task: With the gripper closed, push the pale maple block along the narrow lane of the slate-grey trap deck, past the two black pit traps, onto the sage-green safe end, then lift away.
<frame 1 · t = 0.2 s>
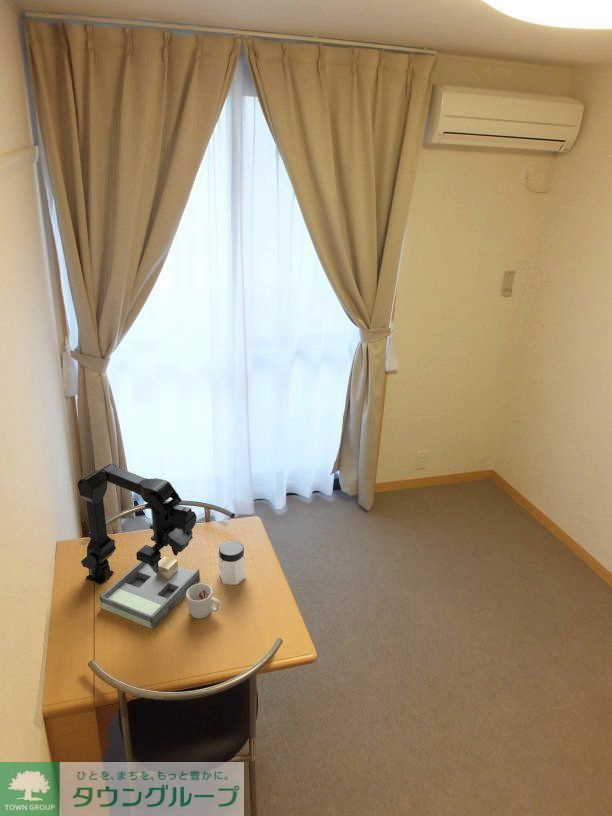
hand: (166, 563, 167), 14 cm above the table, fingers open, 9 cm apart
cup: (204, 614, 168), on the table
jar: (232, 577, 184), on the table
trap deck: (152, 593, 176), on the table
maple block: (167, 572, 181), point 2 cm above the table, touching trap deck
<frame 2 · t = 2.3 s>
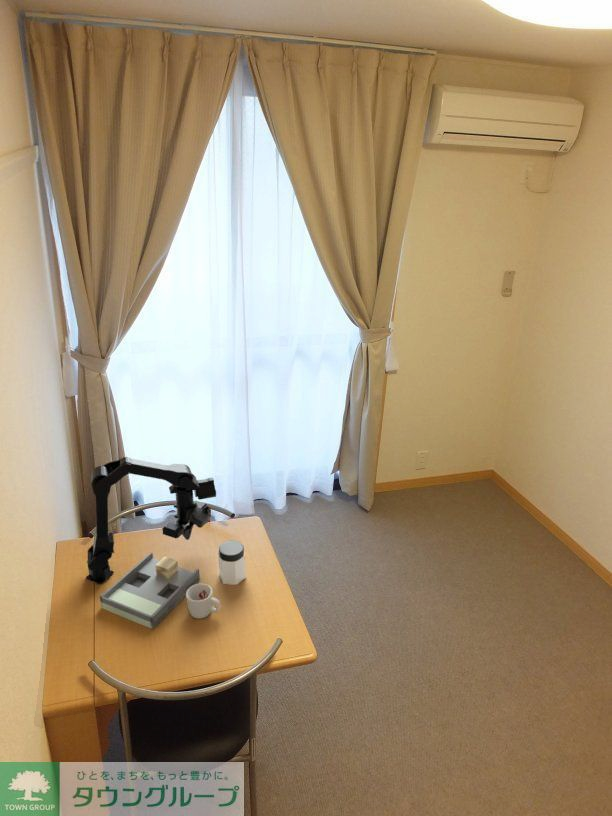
hand: (187, 539, 189), 8 cm above the table, fingers closed
nothing on the table moved.
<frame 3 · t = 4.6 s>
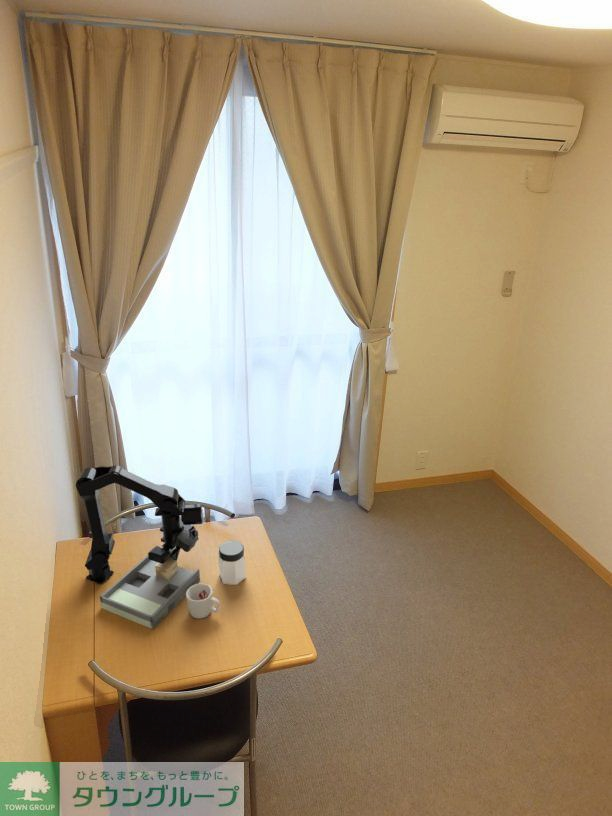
hand: (174, 562, 184), 3 cm above the table, fingers closed
maple block: (167, 572, 181), point 2 cm above the table, touching gripper, trap deck
everything else where it was.
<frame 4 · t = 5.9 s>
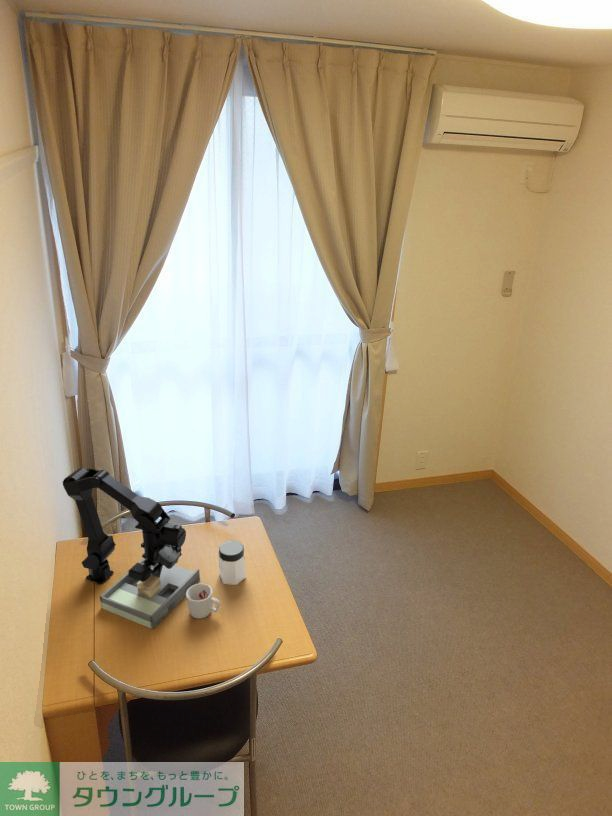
hand: (157, 579, 177), 4 cm above the table, fingers closed
maple block: (149, 590, 173), point 3 cm above the table, touching gripper
everything else where it was.
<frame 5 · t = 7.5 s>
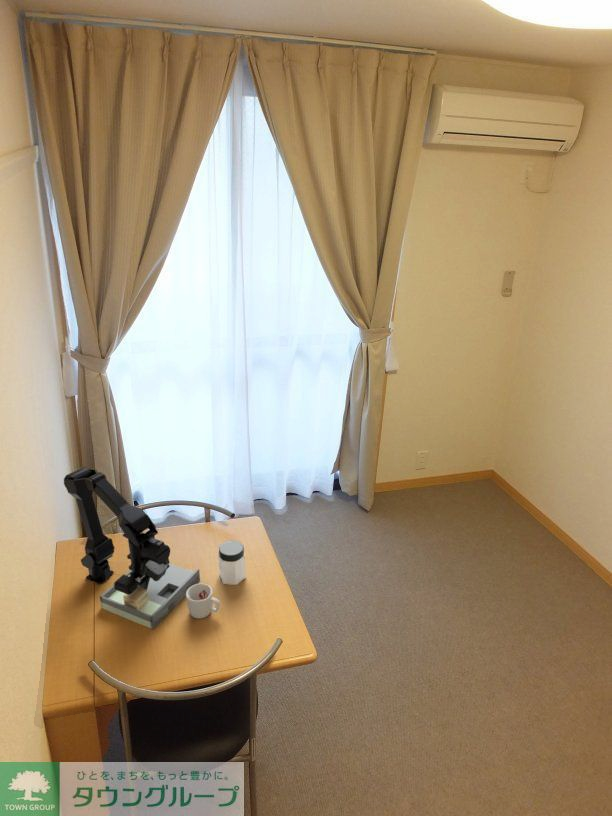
hand: (144, 591, 171), 4 cm above the table, fingers closed
maple block: (136, 603, 168), point 2 cm above the table, touching gripper, trap deck
everything else where it was.
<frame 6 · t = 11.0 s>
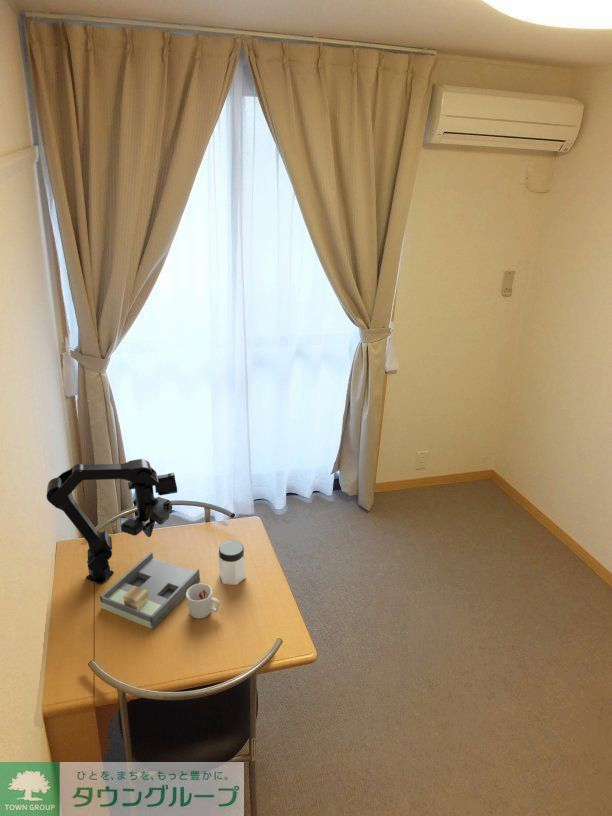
hand: (149, 536, 183), 12 cm above the table, fingers closed
maple block: (136, 603, 168), point 2 cm above the table, touching trap deck
everything else where it was.
at the end: maple block inside the target area on the trap deck (0.4 cm from its centre), point 2.5 cm above the trap deck's base; maple block tilted 0° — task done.
